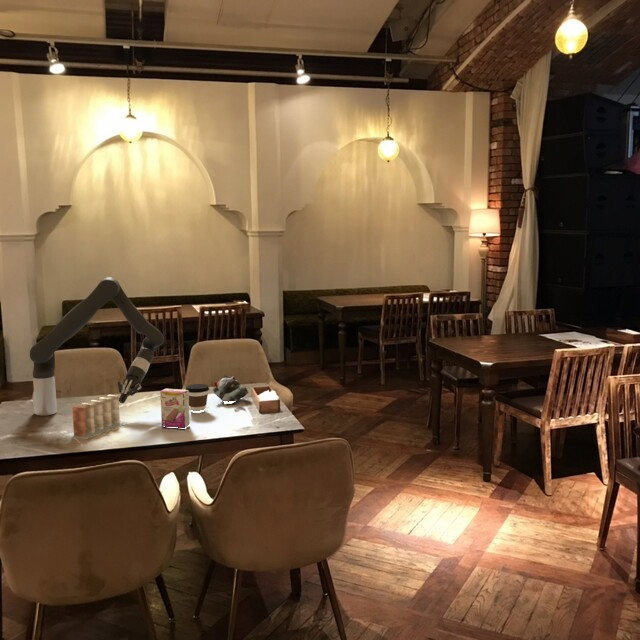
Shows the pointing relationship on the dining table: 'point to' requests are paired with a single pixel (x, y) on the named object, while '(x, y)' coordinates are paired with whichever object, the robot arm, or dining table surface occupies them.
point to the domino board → (97, 430)
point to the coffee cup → (197, 396)
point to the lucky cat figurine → (229, 389)
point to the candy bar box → (175, 408)
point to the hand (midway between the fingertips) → (120, 402)
